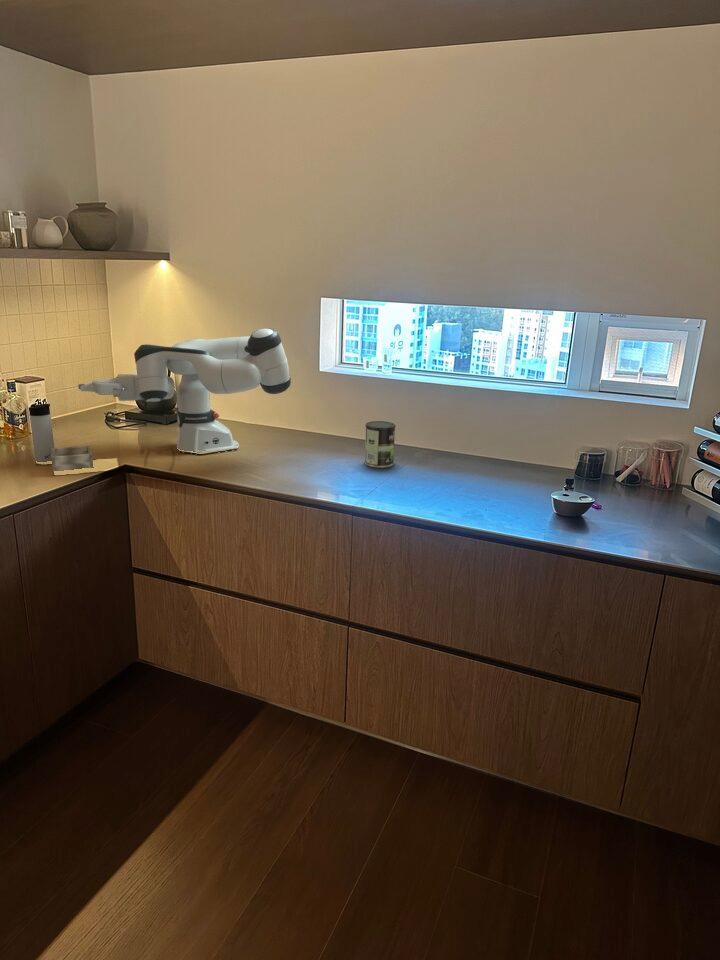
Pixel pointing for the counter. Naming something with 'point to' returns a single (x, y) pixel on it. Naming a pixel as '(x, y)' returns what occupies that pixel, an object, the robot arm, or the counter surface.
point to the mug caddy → (71, 458)
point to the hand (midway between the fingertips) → (79, 387)
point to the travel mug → (41, 432)
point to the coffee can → (379, 444)
